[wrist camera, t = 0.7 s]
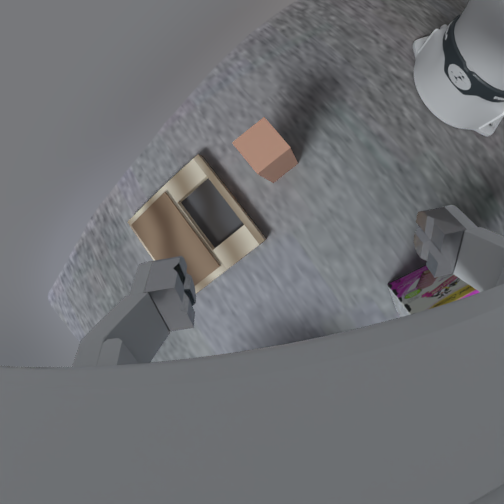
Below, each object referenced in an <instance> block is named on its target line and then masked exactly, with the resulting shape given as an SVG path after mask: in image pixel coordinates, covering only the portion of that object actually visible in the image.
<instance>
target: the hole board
mask: <svg viewBox="0 0 504 504" xmlns="http://www.w3.org/2000/svg"><path fill="white" fill-rule="evenodd" d="M128 224H129V225H130V227H131V228H132V230H133V231H134V233H135V234H136V236H137V237H138V238H139V240H140V241H141V243H142V244H143V246H144V247H145V249H146V250H147V252H148V253H149V254H150V256H151V257H152V259H153V260H154V261H155V260H160V259H166V258H172V257H177V256H182V257H184V259H185V262H186V264H187V271H186V273H188V274H189V275H191V277H192V279H193V282H194V286H195V292H196V294H197V293H198V292H199V291H200V290H202V289H203V288H204V287H206V286H207V285H208V284H209V283H211V282H212V281H213V280H215V279H216V278H217V277H219V276H220V275H221V274H222V273H224V272H225V271H226V270H228V269H229V268H230V267H231V266H233V265H234V264H235V263H237V262H238V261H239V260H241V259H242V258H243V257H244V256H246V255H247V254H248V253H250V252H251V251H252V250H253V249H255V248H256V247H257V246H259V245H260V244H261V243H263V242H264V241H265V240H266V238H265V236H264V235H263V234H262V232H261V231H260V230H259V229H258V227H257V226H256V225H255V223H254V222H253V221H252V219H251V218H250V217H249V216H248V214H247V213H246V212H245V210H244V209H243V208H242V207H241V205H240V204H239V203H238V201H237V200H236V199H235V197H234V196H233V195H232V194H231V192H230V191H229V190H228V188H227V187H226V186H225V185H224V183H223V182H222V181H221V180H220V178H219V177H218V176H217V174H216V173H215V172H214V171H213V169H212V168H211V167H210V166H209V164H208V163H207V162H206V160H205V159H204V158H203V157H202V156H201V155H199V154H198V155H197V156H196V157H194V158H193V159H192V160H191V161H190V162H189V163H188V164H187V165H186V166H184V167H183V168H182V169H181V170H180V171H179V172H178V173H177V174H176V175H175V176H174V177H173V178H171V179H170V180H169V181H168V182H167V183H166V184H165V185H164V186H163V187H162V188H161V189H160V190H159V191H158V192H157V193H156V194H155V195H154V196H153V197H152V198H151V199H150V200H149V201H148V202H147V203H146V204H145V205H144V206H143V207H142V208H141V209H140V210H139V211H138V212H137V213H136V214H135V215H134V216H133V217H132V218H131V219H130V220H129V221H128Z"/></svg>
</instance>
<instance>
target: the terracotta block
mask: <svg viewBox="0 0 504 504" xmlns="http://www.w3.org/2000/svg"><path fill="white" fill-rule="evenodd" d="M233 145H234V146H235V147H236V148H237V149H238V151H239V152H240V153H241V154H242V156H243V157H244V158H245V159H246V160H247V162H248V163H249V164H250V165H251V167H252V168H253V169H254V170H255V172H256V173H257V174H259V175H260V176H262V177H264V178H266V179H267V180H269V181H271V182H273V183H274V182H275V181H277V180H278V179H279V178H280V177H282V176H283V175H284V174H285V173H287V172H288V171H289V170H291V169H292V168H293V167H294V166H296V165H297V164H298V162H297V160H296V158H295V156H294V154H293V152H292V150H291V147H290V146H289V145H288V144H287V143H286V142H285V140H284V139H283V138H282V137H281V136H280V135H279V133H278V132H277V131H276V130H275V129H274V128H273V126H272V125H271V124H270V123H269V122H268V121H267V120H266V119H265V117H263V118H262V119H261V120H260V121H258V122H257V123H256V124H255V125H253V126H252V127H251V128H250V129H248V130H247V131H246V132H245V133H243V134H242V135H241V136H240V137H239V138H237V139H236V140H235V141H234V142H233Z"/></svg>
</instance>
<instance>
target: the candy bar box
mask: <svg viewBox="0 0 504 504" xmlns="http://www.w3.org/2000/svg"><path fill="white" fill-rule="evenodd" d="M388 287H389V290H390V293H391V296H392V299H393V302H394V305H395V308H396V311H397V313H398V314H399V315H400V317H403V316H407V315H411V314H414V313H417V312H421V311H424V310H428V309H431V308H434V307H437V306H441V305H444V304H447V303H450V302H453V301H456V300H459V299H462V298H465V297H468V296H471V295H474V294H477V293H480V292H479V291H478V290H476V289H475V288H473V287H472V286H470V285H469V284H467V283H466V282H464V281H463V280H461V279H460V278H458V277H457V276H455V275H454V273H452V274H448V275H444V276H440V277H436V278H434V276H433V275H432V273H431V272H430V271H429V269H428V268H427V266H424V267H422V268H420V269H418V270H416V271H414V272H412V273H410V274H408V275H406V276H404V277H402V278H400V279H398V280H396V281H393V282H391V283H389V284H388Z"/></svg>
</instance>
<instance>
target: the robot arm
mask: <svg viewBox="0 0 504 504" xmlns="http://www.w3.org/2000/svg"><path fill="white" fill-rule="evenodd" d="M413 51H414V54H415V58H416V60H415V66H414V81H415V85H416V88H417V91H418V93H419V95H420V97H421V99H422V100H423V102H424V103H425V105H426V106H427V107H428V109H429V110H430V111H431V112H432V113H433V114H434V115H435V116H436V117H438V118H439V119H440V120H442V121H443V122H445V123H447V124H449V125H451V126H453V127H456V128H460V129H470V130H474V131H476V132H478V133H480V134H481V135H484V136H487V137H488V136H490V135H492V134H493V132H494V131H495V129H496V128H497V126H498V124H499V123H500V121H501V120H502V118H503V116H504V0H469V2H468V4H467V6H466V8H465V10H464V11H463V13H462V14H461V15H459V16H457V17H456V18H455V19H454V20H453V21H452V22H451V23H450V24H449V26H447V25H446V24H444V25H442V26H441V27H440V29H435V30H434V31H433V32H432V34H431V35H430V36H427V37H423V38H420V39H417V40H415V42H414V43H413ZM489 124H491V126H490V125H489ZM416 223H417V224H418V226H419V227H418V229H417V230H416V232H415V235H414V244H415V249H416V251H417V254H418V255H419V256H420V258H422V259H424V260H426V261H427V263H426V266H427V268H428V269H429V271H430V272H431V273H432V275H433V276H434V278H436V277H440V276H444V275H448V274H452V273H454V275H455V276H457V277H458V278H460V279H461V280H463V281H464V282H466V283H467V284H469V285H470V286H472V287H473V288H475V289H476V290H478V291H479V292H480V293H477V294H474V295H471V296H468V297H465V298H462V299H459V300H456V301H453V302H450V303H447V304H444V305H441V306H437V307H434V308H431V309H428V310H424V311H421V312H417V313H414V314H411V315H407V316H403V317H400V318H396V319H392V320H389V321H385V322H381V323H377V324H373V325H370V326H366V327H361V328H357V329H353V330H349V331H345V332H340V333H336V334H332V335H327V336H322V337H318V338H313V339H308V340H303V341H298V342H293V343H288V344H283V345H277V346H272V347H266V348H260V349H254V350H248V351H241V352H235V353H228V354H221V355H214V356H206V357H198V358H190V359H181V360H172V361H162V362H151V360H152V359H153V357H154V356H155V354H156V353H157V351H158V350H159V348H160V347H161V345H162V344H163V342H164V341H165V340H166V338H167V337H168V335H169V334H170V331H176V330H183V329H188V328H194V317H195V312H194V309H193V307H192V306H193V305H194V304H195V303H196V292H195V286H194V282H193V279H192V277H191V275H189V274H188V273H186V271H187V264H186V262H185V259H184V257H182V256H177V257H172V258H166V259H160V260H155V261H149V262H144V263H141V264H139V266H138V268H137V271H136V275H135V278H134V281H133V284H132V287H131V291H130V294H129V296H125V297H124V298H123V299H122V300H121V301H120V302H119V303H118V304H117V305H116V306H115V307H114V308H113V309H112V310H111V311H110V312H109V313H108V314H107V315H106V316H105V317H104V318H103V319H102V320H101V321H100V322H99V323H98V324H97V325H96V326H95V327H94V328H93V329H92V330H91V331H90V332H89V333H88V334H87V335H86V336H85V337H84V338H83V339H82V340H81V341H80V344H79V347H78V350H77V353H76V356H75V359H74V363H73V366H72V367H10V366H0V504H504V236H501V235H499V234H497V233H494V232H492V231H490V230H487V229H485V228H483V227H477V226H476V225H475V224H474V223H473V222H472V221H471V220H470V219H469V218H468V217H467V216H466V215H465V214H464V213H463V212H462V211H461V210H459V209H458V208H457V207H456V206H455V205H448V206H444V207H440V208H435V209H430V210H425V211H420V212H418V215H417V219H416ZM150 362H151V363H150Z"/></svg>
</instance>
